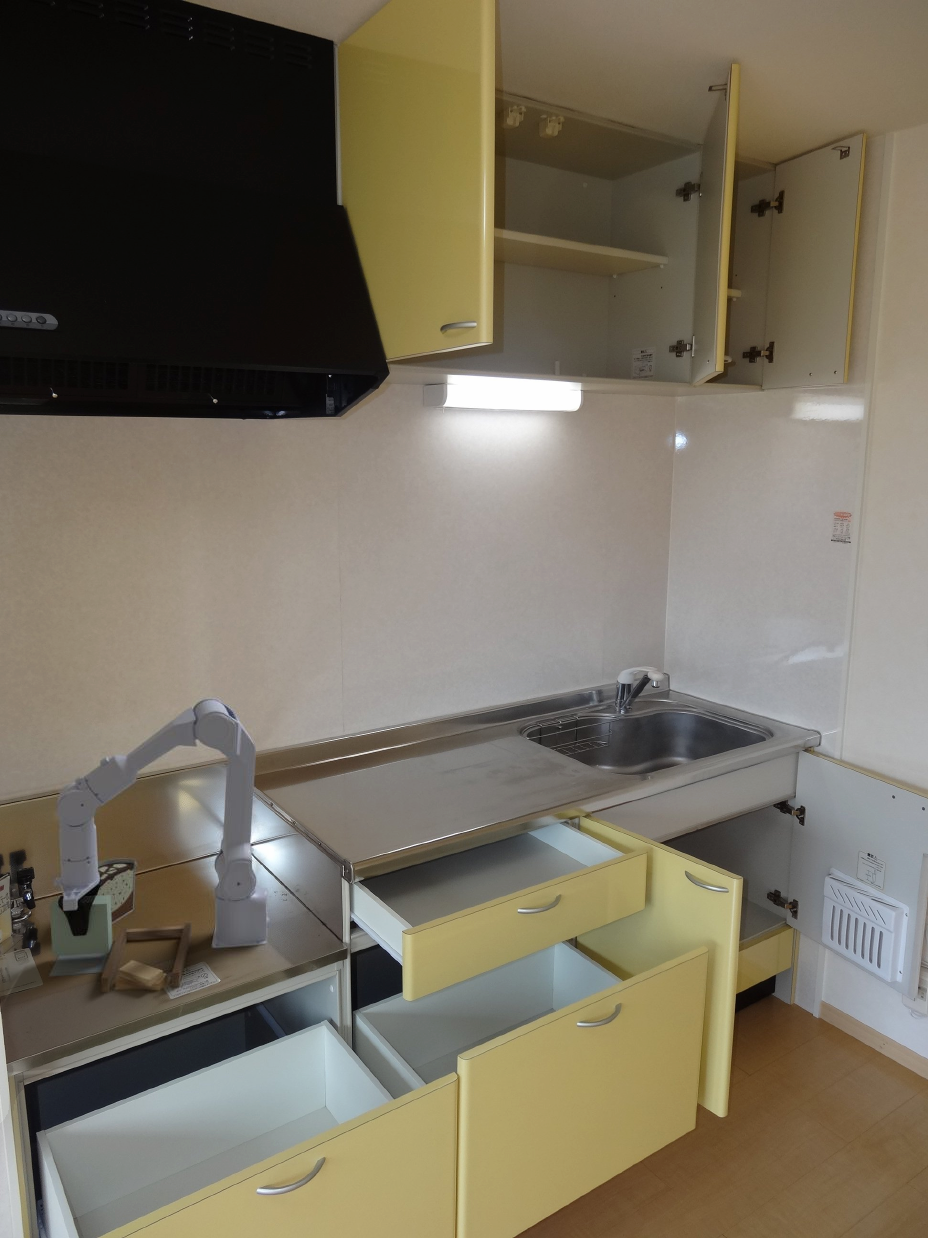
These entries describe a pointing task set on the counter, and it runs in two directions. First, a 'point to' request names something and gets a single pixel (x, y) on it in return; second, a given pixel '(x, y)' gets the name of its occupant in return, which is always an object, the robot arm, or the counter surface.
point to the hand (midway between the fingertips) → (82, 929)
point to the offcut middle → (132, 984)
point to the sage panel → (96, 935)
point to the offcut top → (140, 973)
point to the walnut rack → (144, 934)
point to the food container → (118, 885)
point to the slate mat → (80, 964)
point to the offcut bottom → (138, 988)
